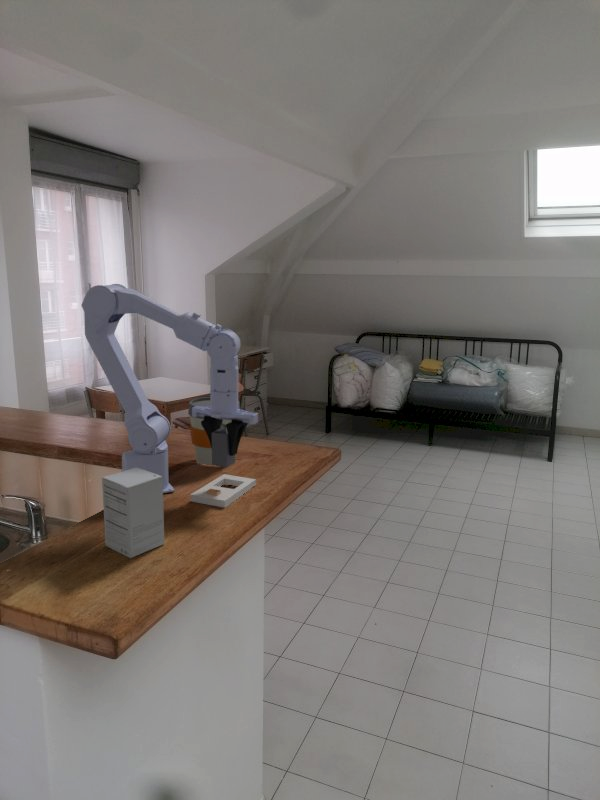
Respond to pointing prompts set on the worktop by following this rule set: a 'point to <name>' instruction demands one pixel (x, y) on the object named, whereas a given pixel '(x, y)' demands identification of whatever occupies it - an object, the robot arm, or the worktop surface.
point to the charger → (221, 448)
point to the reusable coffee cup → (201, 432)
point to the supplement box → (133, 511)
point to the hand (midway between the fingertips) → (224, 453)
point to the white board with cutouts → (222, 490)
